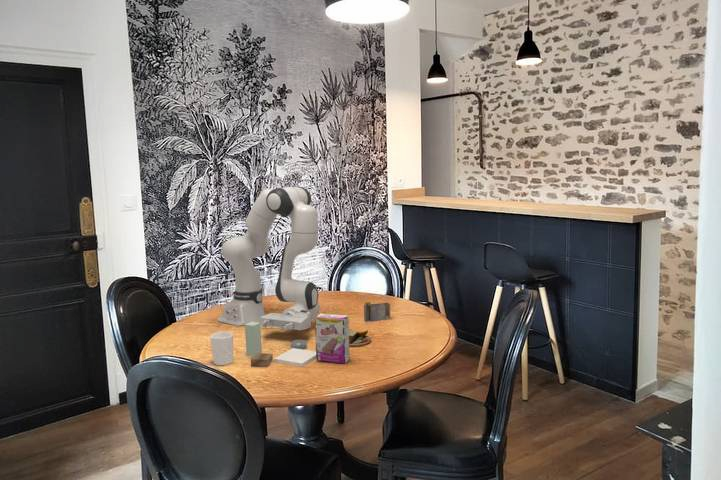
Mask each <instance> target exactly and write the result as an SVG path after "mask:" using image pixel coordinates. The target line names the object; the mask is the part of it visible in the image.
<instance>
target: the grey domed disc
mask: <svg viewBox="0 0 721 480" xmlns="http://www.w3.org/2000/svg"><path fill="white" fill-rule="evenodd" d="M307 347H308V346H307V340H305V339H295V340H292V341H291V342H290V349H292V348H296V349H303V350H307V349H308V348H307Z"/></svg>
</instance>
